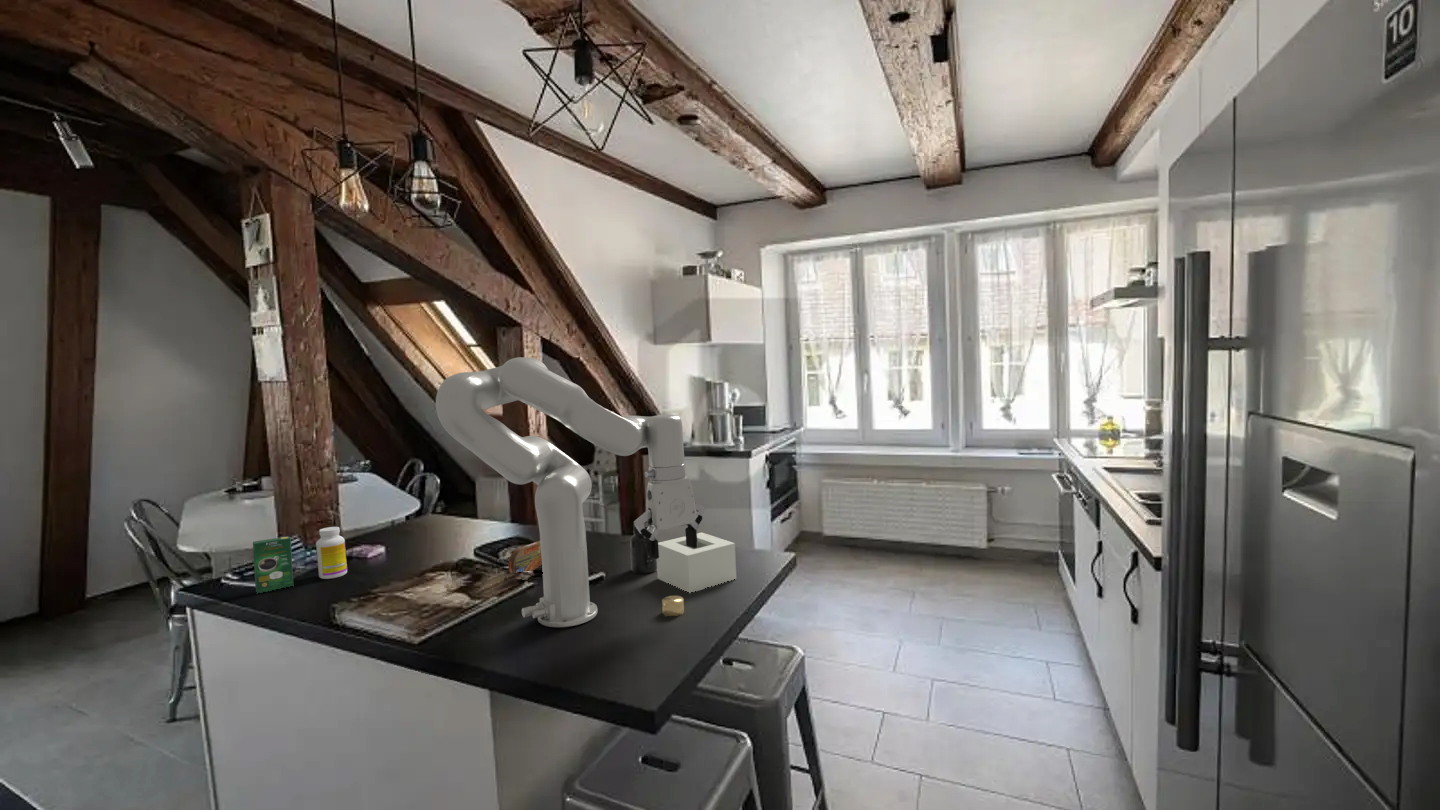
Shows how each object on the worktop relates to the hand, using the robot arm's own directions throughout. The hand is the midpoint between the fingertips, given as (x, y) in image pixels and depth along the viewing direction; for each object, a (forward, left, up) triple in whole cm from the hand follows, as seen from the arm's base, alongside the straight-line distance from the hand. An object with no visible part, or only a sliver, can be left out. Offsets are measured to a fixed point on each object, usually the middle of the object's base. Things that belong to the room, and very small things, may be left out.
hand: (673, 552), depth 138 cm
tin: (-13, +46, -14) cm, 50 cm away
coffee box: (-67, +83, -14) cm, 108 cm away
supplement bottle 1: (-54, +85, -14) cm, 102 cm away
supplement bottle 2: (+10, +29, -14) cm, 34 cm away
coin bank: (+16, +14, -13) cm, 25 cm away
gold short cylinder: (0, 0, -13) cm, 13 cm away
